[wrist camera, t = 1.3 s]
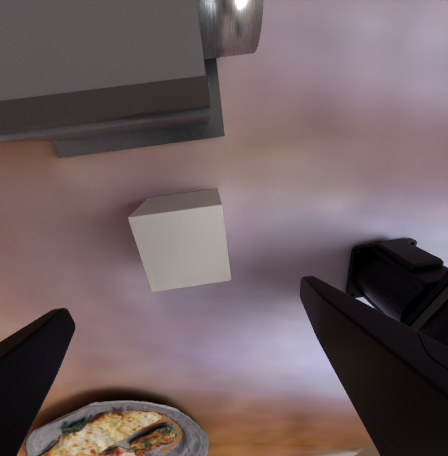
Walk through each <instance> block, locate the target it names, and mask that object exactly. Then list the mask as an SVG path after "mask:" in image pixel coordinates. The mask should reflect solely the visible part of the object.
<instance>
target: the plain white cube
mask: <svg viewBox="0 0 448 456" xmlns="http://www.w3.org/2000/svg"><path fill="white" fill-rule="evenodd" d="M128 219H129V223H130V226H131V229H132V232H133V235H134V238H135V241H136V244H137V247H138V250H139V253H140V257H141V260H142V263H143V266H144V269H145V272H146V275H147V278H148V281H149V284H150V287H151V290H152V292H158V291H164V290H171V289H178V288H184V287H191V286H198V285H204V284H211V283H218V282H225V281H231V273H230V265H229V257H228V249H227V241H226V233H225V225H224V218H223V210H222V203H221V199H220V195H219V192H218V188H217V189H210V190H203V191H195V192H188V193H180V194H173V195H166V196H158V197H151V198H147V199H146V200H145V201H144V202H143V203H142V204H141V205H140V206H139V207H138V208H137V209H136V210H135V211H134V212H133V213H132V214H131V215H130V216H129V217H128Z"/></svg>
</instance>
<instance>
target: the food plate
mask: <svg viewBox="0 0 448 456" xmlns="http://www.w3.org/2000/svg"><path fill="white" fill-rule="evenodd" d="M163 414H165V415H166V416H167V417H169V418H170V419H171V420H173V421H174V422H176V424H178V425H179V427H180V428H181V431H182V434H181V436H183V437H182V439H181V440H179V441H181V442H180V443H177V444H175V445H174V446H173V448H175V447H176V448H175V449H173V448H170V449H172V450H171V451H169V450H168V451H165V452H167V453H169V454H167V453H163V452H162V453H163V454H162V453H161V452H160V453H157V452H158V451H161V450H158V449H160V448H162V447H168V446H170V445H167V444H170V443H172V442H173V441H174V440H175V438H176V435H177V434H178V433H175V432H176V427H175V426H174V425H173V424H171V423H169V422H166V423H163V424H160V425H157V426H155V427H151V428H148V429H145V430H141V431H140V429H141V428H143V427H145V426H148V425H149V424H152V423H155V422H156V421H157V420H161V417H162V415H163ZM191 419H192V418H191ZM191 419H190V417H188V416H187V415H186V416H185V414H184V413H182V412H180V411H179V410H178V409H176V408H173V407H169V406H166V405H164V406H163V405H160V404H159V405H158V404H154V403H150V402H149V403H148V402H145V401H133V400H132V401H130V400H129V401H128V400H127V401H125V400H124V401H122V400H121V401H104V402H93V403H90V404H89V405H87V406H84V407H81V408H79V409H78V410H76V411H73V412H71V413H67V414H66V415H64V416H62V417H60V418H57V419H56V420H54V421H52V422H49V423H48V424H46V425H45V426H42V427H41V428H39V429H36V430H34V431H33V432H32V433H30V434H29V436H27V438H26V443H25V449H26V456H155V455H156V454H157V456H161V455H162V456H206V455H207V452H208V446H209V444H208V443H209V440H208V438H207V435H206V434H205V431H203V430H202V428H200V427H199V426H198V425H197V423H196V424H195V422H194V421H193V420H191ZM178 437H179V436H178ZM165 445H166V446H165ZM108 446H112V447H110V448H108ZM156 450H157V451H156ZM159 454H160V455H159ZM165 454H166V455H165Z"/></svg>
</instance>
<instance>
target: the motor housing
mask: <svg viewBox="0 0 448 456" xmlns="http://www.w3.org/2000/svg"><path fill="white" fill-rule="evenodd" d="M262 14H263V0H0V141H52V142H53V144H54V146H55V149H56V151H57V153H58V156H59V158H61V157H70V156H77V155H85V154H92V153H100V152H107V151H115V150H122V149H130V148H137V147H145V146H153V145H160V144H168V143H175V142H183V141H190V140H198V139H205V138H213V137H220V136H224V126H223V117H222V108H221V99H220V90H219V81H218V72H217V63H216V58H219V57H227V56H235V55H243V54H252V53H255V51H256V49H257V47H258V43H259V38H260V32H261V25H262Z"/></svg>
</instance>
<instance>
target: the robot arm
mask: <svg viewBox="0 0 448 456" xmlns="http://www.w3.org/2000/svg"><path fill="white" fill-rule="evenodd" d="M416 244H417V241H416V240H414V239H412V238H408V239H397V240H390V241H384V242H378V243H375V244H368V245H361V246H356V247H354V248H353V249H352V253H351V260H350V267H349V274H348V281H347V288H346V293H344V292H342V291H340V290H338V289H337V288H335V287H333V286H331V285H329V284H327V283H325V282H323V281H321V280H320V279H318V278H316V277H314V276H305V277H302V278H301V284H300V298H301V301H302V303H303V306H304V308H305V310H306V313H307V315H308V318H309V320H310V323H311V325H312V327H313V330H314V332H315V334H316V337H317V339H318V341H319V343H320V344H321V346H322V348H323V350H324V352H325V354H326V356H327V357H328V359H329V361H330V363H331V365H332V367H333V369H334V370H335V372H336V374H337V376H338V378H339V380H340V382H341V383H342V385H343V387H344V389H345V391H346V393H347V395H348V396H349V398H350V400H351V402H352V404H353V406H354V408H355V409H356V411H357V413H358V415H359V417H360V419H361V421H362V422H363V424H364V426H365V428H366V430H367V432H368V434H369V435H370V437H371V439H372V441H373V443H374V445H375V446H376V448H377V450H378V452H379V454H380V456H448V268H447V267H446V266H444V265H443V263H444V262H443V261H442V260H441V259H440V258H438V257H436V256H434V255H432V254H430V253H428V252H426V251H424V250H422V249H420V248H418V247H416ZM357 251H358V252H357ZM358 297H364V298H365V299H366V300H367V301H368V302H369V303H370V304H371V305H372V306H373V307H374V308H375V309H374V308H373V307H371V306H369V305H367V304H365V303H363V302H361V301H359V300H357V299H356V298H358ZM74 331H75V322H74V321H73V319H72V317H71V315H70V313H69V311H68V310H67V309H66V308H60V309H54V310H51V311H50V312H48V313H46V314H45V315H43V316H41V317H40V318H38V319H37V320H35V321H33V322H32V323H30V324H29V325H27V326H25V327H24V328H22V329H20V330H19V331H17V332H16V333H14V334H12V335H11V336H9V337H7V338H6V339H4V340H3V341H1V342H0V456H17V454H18V452H19V450H20V448H21V446H22V444H23V442H24V440H25V438H26V436H27V434H28V432H29V430H30V428H31V426H32V424H33V422H34V420H35V418H36V416H37V414H38V412H39V410H40V408H41V406H42V404H43V402H44V400H45V398H46V396H47V394H48V392H49V390H50V388H51V386H52V384H53V382H54V380H55V377H56V375H57V373H58V371H59V368H60V366H61V364H62V361H63V359H64V356H65V354H66V351H67V349H68V346H69V343H70V341H71V338H72V336H73V333H74Z"/></svg>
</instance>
